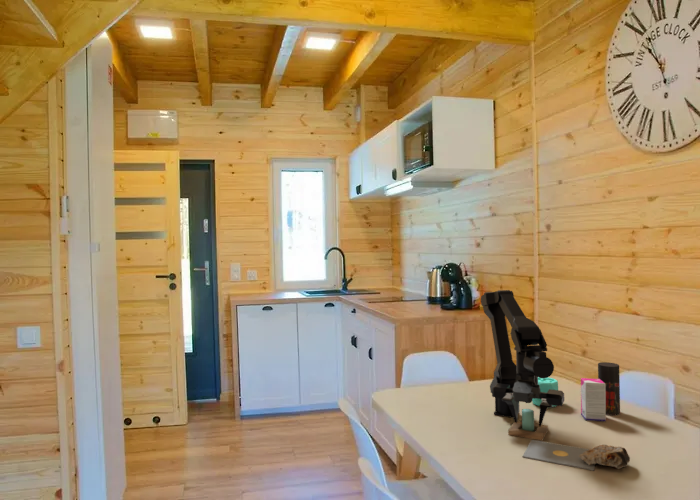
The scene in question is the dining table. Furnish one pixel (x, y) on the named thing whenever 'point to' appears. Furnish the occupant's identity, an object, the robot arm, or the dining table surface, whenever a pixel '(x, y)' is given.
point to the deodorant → (610, 386)
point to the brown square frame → (538, 435)
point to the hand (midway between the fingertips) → (528, 424)
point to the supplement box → (593, 399)
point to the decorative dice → (545, 388)
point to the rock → (606, 456)
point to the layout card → (557, 454)
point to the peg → (528, 420)
